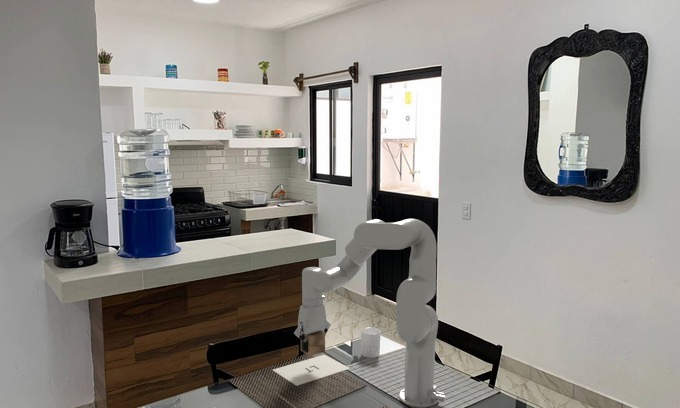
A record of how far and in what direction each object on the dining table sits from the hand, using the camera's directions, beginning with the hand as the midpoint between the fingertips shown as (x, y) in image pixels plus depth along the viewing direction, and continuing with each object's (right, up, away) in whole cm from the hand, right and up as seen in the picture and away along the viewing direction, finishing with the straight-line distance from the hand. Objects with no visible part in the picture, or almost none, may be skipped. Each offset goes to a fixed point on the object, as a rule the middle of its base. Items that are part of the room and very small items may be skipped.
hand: (313, 348), depth 193 cm
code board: (-1, -9, +1) cm, 9 cm away
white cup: (+22, -7, +17) cm, 29 cm away
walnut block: (0, -1, 0) cm, 1 cm away
